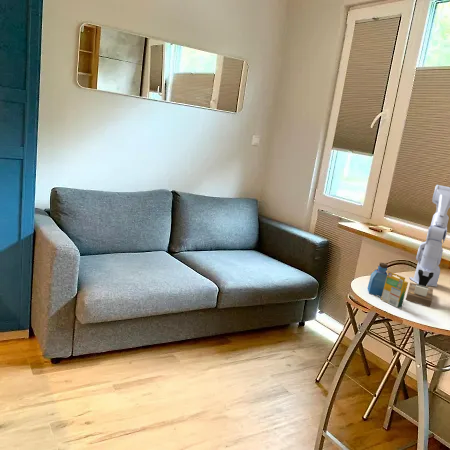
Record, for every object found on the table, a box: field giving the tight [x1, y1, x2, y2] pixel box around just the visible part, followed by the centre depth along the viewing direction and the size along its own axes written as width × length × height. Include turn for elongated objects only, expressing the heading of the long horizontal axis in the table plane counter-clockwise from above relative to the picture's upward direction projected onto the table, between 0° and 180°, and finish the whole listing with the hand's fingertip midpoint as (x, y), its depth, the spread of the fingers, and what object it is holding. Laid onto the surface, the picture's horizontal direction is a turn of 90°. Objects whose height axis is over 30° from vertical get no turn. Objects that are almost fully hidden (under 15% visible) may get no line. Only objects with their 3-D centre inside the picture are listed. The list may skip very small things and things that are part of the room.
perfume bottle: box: [367, 262, 388, 297], centre depth 178 cm, size 6×6×12 cm
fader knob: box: [414, 283, 429, 297], centre depth 178 cm, size 3×4×3 cm
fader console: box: [405, 281, 434, 308], centre depth 183 cm, size 18×9×3 cm, turn 154°
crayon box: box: [380, 270, 409, 309], centre depth 169 cm, size 7×3×12 cm, turn 36°
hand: (421, 288), depth 182 cm, fingers closed
